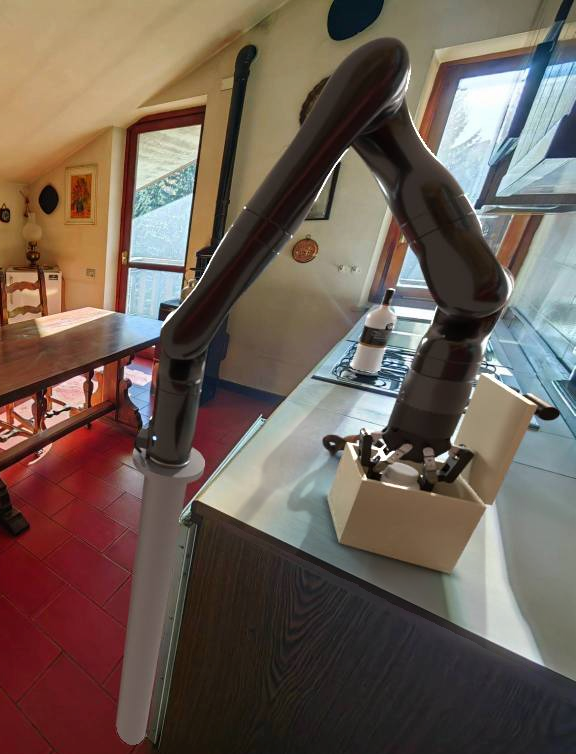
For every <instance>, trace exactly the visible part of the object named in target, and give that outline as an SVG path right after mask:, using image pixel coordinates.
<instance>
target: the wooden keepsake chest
mask: <svg viewBox="0 0 576 754" xmlns="http://www.w3.org/2000/svg"><path fill="white" fill-rule="evenodd" d="M358 448H359V443H357V444H354V443H349V442H346V445H345V448H344V451H342V454H341V457H340V460H339V463H338V466H337V469H336V472H335V475H334V477H333V480H332V483H331V487H330V489H329V491H328V495H327V503H328V507H329V510H330V515H331V518H332V519H331V520H332V522H333V526H334V530H335V533H336V537H337V540H338V543H339V544H340V545H341V544H342V545H344V546H348V547H350V548H351V547H352V548H355V549H359V550H363V551H366V552H369V553H373V554H377V555H380V556H384V557H387V558H391V559H395V560H399V561H402V562H406V563H409V564H413V565H416V566H420V567H423V568H427V569H431V570H434V571H438V572H441V573H445V574H449V575H451V574H452V572H453V571H454V569H455V567H456V566H457V563H458V562H459V559H460V558H461V557H462V554H463V553H464V550H465V548H466V547H467V545H468V543H469V541H470V539H471V537H472V536H473V534H474V532H475V530H476V528H477V526H478V525H479V522H480V521H481V519H482V517H483V516H484V513H485V512H486V510H487V506H486V504H484V503H483V501H482V500H481V499H480V498H479V496H478V495H477V494H476V493H475V492H474V490H473V489H472V488H471V487H470V486H469V484H468V483H467V482H466V481H465V479H464V478H463V477H462V476H461V475H459V476H458V477H457V479H456V480H455V481H454V482H453V483H446V482H437V483H436V484H435V485H434V487H433V489H432V492H431V493H430V492H426V491H421V490H417V489H412V488H408V487H403V486H398V485H394V484H389V483H385V482H380V481H376V480H371V479H367V477H366V475H367V472H368V469H369V468H368V467H363V466H362V465H361V463H360V460H359V458H358ZM379 450H380V448H377V447H375V446H372V449H371V458H373V457H374V456H375V455H376V454H377V453H378V451H379ZM445 461H446V460H441V459H437V458H435V463H436V468H437V470H439V469H440V468H441V466H442V465H443V464H444V462H445ZM396 463H402V464H405V465H408V466H410V467H412V468H414V469H415V470H416V471H417V472H418V474H419V475H418V477H417V481H418V479H419V476H420V475H422V476H423V473H422V468H421V464H419V463H415V462H412V461H403V460H397V461H396ZM385 469H386V468H385ZM385 469H384V470H383V471H385Z"/></svg>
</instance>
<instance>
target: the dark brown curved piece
mask: <svg viewBox="0 0 576 754" xmlns="http://www.w3.org/2000/svg"><path fill="white" fill-rule="evenodd" d="M359 435H360V433H358V434H350V435H346V436H344V437H342V436H339V435H338V434H334V433H333V434H332V433H331V434H326V435H325V436H324V437H322V441H321V442H322V446H323V448H324V449H325V450H326V451H327V452H329V455H330V456H331V457H332V458H335V457H336V454H337V453H338V452H341V451H342V452H343V451H344V448H345V445H346V442H349V443H354V444H358V441H359ZM331 443H332V444H331ZM384 445H385V443H384V442H382V441H381V439H379V440H378V441H377V443H376V444H375V445H372V447H375V448H380V449H381V448H382V447H383V446H384Z"/></svg>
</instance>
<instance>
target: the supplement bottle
mask: <svg viewBox="0 0 576 754" xmlns="http://www.w3.org/2000/svg"><path fill="white" fill-rule="evenodd" d="M381 473H382V476H381V479H380V482H385V483H389V484H394V485H398V486H403V487H408V488H412V489H417V490H420V485H419V484H418V482H417V477H418V475H419V474H418V472H417V471H416V470H415V469H414V468H412V467H410V466H408V465H405V464H402V463H396V462H395V463H393V464H392V465H388V466H387V467H386V469H385V471H381Z"/></svg>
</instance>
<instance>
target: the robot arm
mask: <svg viewBox="0 0 576 754" xmlns="http://www.w3.org/2000/svg"><path fill="white" fill-rule="evenodd" d="M411 70H412V59H411V55H410V51H409V49H408V46H407V45H406V43H405V42H404V41H402V40H401V39H399V38H397V37H395V36H387V35H386V36H379V37H376V38H373V39H370V40H368V41H366V42H364V43H362V44H360V45H359V46H358V47H356V48H355V49H353V50H352V51H350V52H349V54H348V55H347V56H345V57H344V58H343V59H342V60H341V61H340V62H339V64H338V65H337V66H336V68H335V69H334V70H333V72H332V73H331V75H330V76H329V78H328V80H327V82H326V83H325V85H324V86H323V88H322V90H321V92H320V93H319V95H318V97H317V98H316V100H315V102H314V104H313V106H312V107H311V109H310V111H309V112H308V114H307V115H306V117H305V119H304V121H303V123H302V124H301V126H300V128H299V130H298V131H297V133H296V134H295V135H294V137H293V139H292V140H291V142H290V143H289V145H288V146H287V148H286V149H285V151H284V152H283V153H282V154H281V155H280V157H279V158H278V160H277V161H276V162H275V164H274V165H273V166H272V168H271V169H270V170H269V172H268V173H267V175H266V176H265V177H264V179H263V180H262V181H261V183H260V184H259V186H258V187H257V188H256V189H255V191H254V193H253V194H252V196H251V197H250V198H249V200H248V201H247V202H246V203H245V205H244V206H243V208H242V209H241V210H240V212H239V213H238V214H237V216H236V218H235V219H234V221H233V222H232V223H231V225H230V226H229V228H228V229H227V231H226V232H225V234H224V235H223V237H222V239H221V241H220V243H218V246H217V248H216V250H214V253H213V255H212V257H211V258H210V260H209V263H208V264H207V266H206V268H205V270H204V273H203V275H202V276H201V278H200V279H199V281H198V283H197V284H196V286H195V287H194V288H193V290H192V291H191V292H190V293H189V294H188V296H187V297H186V298H185V299H184V300H183V302H182V303H181V304H180V305H179V307H177V308H175V309H173V310H172V311H171V312H170V313H169V314H168V315H167V316H166V318H165V320H164V321H163V323H162V324H161V327H160V330H159V343H160V353H159V359H158V364H157V369H156V375H155V384H154V394H153V403H152V410H151V417H150V418H149V421H148V426H147V428H144V427H141V429H140V431H139V432H138V434H137V436H136V437H135V438H134V439H133V442H132V444H133V448H135V449H136V450H137V451H138V452H139V454H140V453H142V451H141V449H140V448H143V449H146V453H145V459H149V460H151V461H152V462H153V463H155V464H157V465H159V466H161V467H165V468H172V469H177V468H183V467H185V466H187V465H188V464H189V463H190V459H191V450H192V447H193V444H194V437H195V432H196V426H197V419H198V414H199V409H200V408H199V407H200V402H201V394H202V389H203V383H204V377H205V371H206V362H207V357H208V351H209V346H210V344H211V341H212V340H213V338H214V337H215V335H216V333H217V331H218V330H219V328H220V327H221V325H222V324H223V322H224V321H225V319H226V318H227V316H228V315H229V313H231V310H232V309H233V308H234V306H235V305H236V304H237V302H238V301H240V299H241V298H242V297H243V296H244V295H245V294H246V293H247V291H249V289H250V288H251V287H252V286H253V285H255V283H256V282H257V281H258V279H259V278H260V277H261V276H262V275H263V274H264V273H265V271H267V269H268V268H269V266H271V264H272V263H273V262H274V261H275V259H277V257H278V256H279V254H280V253H281V252H282V251H283V250H284V248H285V247H286V246H287V245H288V243H289V242H290V241H291V239H292V238H293V237H294V235H296V233H297V232H298V231H299V229H300V228H301V226H302V224H303V223H304V221H305V219H306V218H307V216H308V215H309V213H310V211H311V209H312V207H313V206H314V205H315V202H316V201H317V199H318V197H319V195H320V193H321V191H322V190H323V187H324V186H325V184H326V182H327V180H328V178H329V177H330V176H331V173H332V171H333V170H334V168H335V167H336V165H337V164H338V163H339V162H340V160H341V159H342V157H343V156H344V155H345V153H346V152H347V151H348V150H349V149H350V147H351V148H352V149H353V151H354V152H355V153H356V154H357V155H358V157H359V158H360V159H361V160H362V162H363V163H364V164H365V166H366V167H367V169H368V170H369V172H370V173H371V175H372V177H373V179H374V180H375V182H376V185H377V186H378V187H379V189H380V191H381V194H382V196H383V198H384V199H385V202H386V204H387V206H388V208H389V210H390V212H391V215H392V216H393V218H394V221H395V222H396V224H397V226H398V228H399V230H400V231H401V234H402V235H403V237H404V240H405V241H406V244H408V246H409V248H410V249H411V251H412V253H413V254H414V255H415V257H416V259H417V261H418V264H419V267H420V271H421V273H422V276H423V279H424V282H425V285H426V287H427V289H428V292H429V294H430V296H431V298H432V300H433V301H434V304H435V305H436V307H435V309H434V312H433V315H432V318H431V320H430V324H429V327H428V329H427V331H426V332H425V333H424V335H423V336H422V337H421V339H420V341H419V343H418V345H417V347H416V350H415V353H414V356H413V359H412V361H411V364H410V367H409V369H408V371H407V373H406V374H405V376H404V378H403V380H402V383H401V384H400V388H399V391H398V393H397V396H396V399H395V402H394V405H393V407H392V410H391V413H390V416H389V419H388V422H387V424H386V426H385V427H384V428H383V429H382V430H369V428H367V427H362V428H360V429H359V434H360V435H359V440H358V444H359V448H358V458H359V460H360V463H361V465H362V466H363V467H368V468H369V469H368V472H367V475H366V477H367V479H371V480H376V481H380V479H381V476H382V473H381V471H383V470H384V469H385V468H386V467H387V466H388V465H392V464H393V463H395V462H396V461H397V460H403V461H412V462H415V463H419V464H421V468H422V473H423V476H422V475H420V476H419V479H418V481H417V482H418V484H419V485H420V490H421V491H426V492H430V493H431V492H432V489H433V487H434V485H435V484H436V483H437V482H446V483H453V482H454V481H455V480H456V479H457V477H458V476H459V475H460V473H461V472H462V471H463V470H464V468H465V467H466V466H467V465H468V463H469V462H470V461H471V459H472V458H473V457H474V454H473V453H472V452H471V450H470V449H469V448H468V447H467V446H466V445H464V444H459V445H455V444H454V443H452V441H451V440H452V439H451V438H453V436H454V434H455V432H456V429H457V427H458V425H459V423H460V420H461V418H462V416H463V414H464V411H465V409H467V407H468V405H469V401H470V400H469V399H470V398H471V394H472V391H473V385H474V382H475V380H476V379H477V375H478V373H479V371H480V368H481V366H482V364H483V361H484V358H485V355H486V353H487V349H488V344H489V341H490V338H491V336H492V334H493V333H494V330H495V329H496V327H497V325H498V322H499V321H500V319H501V317H502V315H503V313H504V311H505V309H506V306H507V305H508V303H509V301H510V299H511V297H512V295H513V293H514V290H515V286H516V280H515V277H514V275H513V273H512V271H511V270H510V269H508V267H506V266H504V265H502V264H501V263H500V261H499V259H498V257H497V256H496V254H495V253H494V251H493V249H492V247H491V246H490V245H489V243H488V241H487V240H486V238H485V236H484V235H483V228H482V224H481V221H480V219H479V217H478V215H477V213H476V210H475V208H474V207H473V205H472V204H471V202H470V200H469V199H468V196H467V195H466V193H465V191H464V190H463V187H462V186H461V185H460V183H459V181H458V180H457V179H456V177H455V176H454V175H453V174H452V173H451V172H450V170H449V169H448V168H447V166H445V165H444V164H443V162H441V161H440V160H439V159H438V158H437V157H436V156H435V154H434V153H432V152H431V150H430V149H429V148H428V147H427V145H426V144H425V142H424V141H423V139H422V138H421V136H420V134H419V132H418V131H417V129H416V127H415V125H414V122H413V119H412V116H411V113H410V109H409V105H408V102H407V99H406V93H407V89H408V84H409V80H410V75H411ZM378 440H382V441H383V444H384V446H383V447H382V448H381V449H380V450H379V451H378V453H377V454H376V455H375V456H374V457H373V458H371V449H372V447H373V445H375V444H376V443H377V441H378ZM445 453H447V455H448V457H447V458H446V459H445V460H444V461H445V462H444V464H443V465H442V466H441V468H440V469H439V470H437V468H436V463H435V459H437V458H438V457H440V456H441V455H444V454H445ZM460 476H461V475H460Z"/></svg>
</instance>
